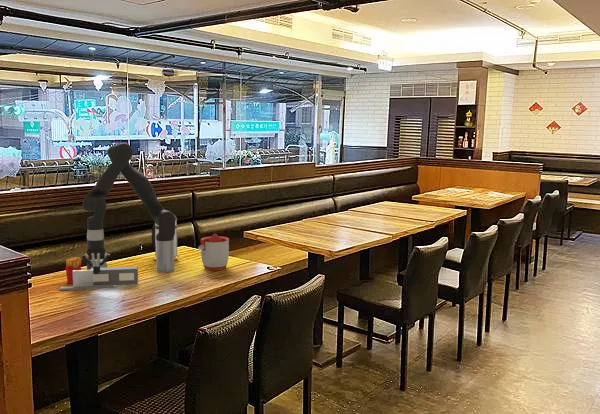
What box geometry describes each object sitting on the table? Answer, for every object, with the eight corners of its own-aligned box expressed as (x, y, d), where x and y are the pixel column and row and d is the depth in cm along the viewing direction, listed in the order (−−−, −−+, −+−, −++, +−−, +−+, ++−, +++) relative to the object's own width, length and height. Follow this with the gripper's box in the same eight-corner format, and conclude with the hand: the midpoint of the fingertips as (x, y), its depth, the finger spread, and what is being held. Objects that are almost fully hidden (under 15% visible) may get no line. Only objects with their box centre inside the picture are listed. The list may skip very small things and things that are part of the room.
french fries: (70, 284, 264) (69, 260, 262) (64, 282, 266) (63, 259, 264) (84, 280, 271) (83, 256, 270) (78, 278, 273) (77, 255, 271)
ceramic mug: (108, 272, 285) (107, 258, 284) (94, 275, 279) (93, 261, 278) (97, 269, 292) (96, 255, 291) (83, 272, 285) (82, 258, 284)
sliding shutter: (93, 285, 258) (93, 269, 257) (93, 285, 257) (92, 270, 256) (73, 286, 256) (73, 270, 255) (73, 286, 255) (72, 271, 254)
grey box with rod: (138, 281, 270) (137, 266, 269) (136, 287, 261) (136, 271, 260) (63, 284, 262) (63, 269, 261) (59, 290, 253) (58, 274, 252)
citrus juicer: (193, 267, 299) (193, 232, 296) (221, 263, 309) (221, 229, 306) (204, 274, 286) (204, 237, 284) (234, 270, 296) (234, 234, 293)
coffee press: (181, 256, 324) (180, 207, 320) (177, 263, 308) (176, 211, 304) (152, 256, 323) (151, 207, 319) (146, 263, 307) (145, 211, 303)
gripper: (111, 236, 260) (112, 271, 262) (82, 237, 257) (83, 272, 259) (109, 239, 253) (110, 275, 255) (79, 240, 249) (80, 276, 252)
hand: (96, 273), depth 257 cm, fingers closed
